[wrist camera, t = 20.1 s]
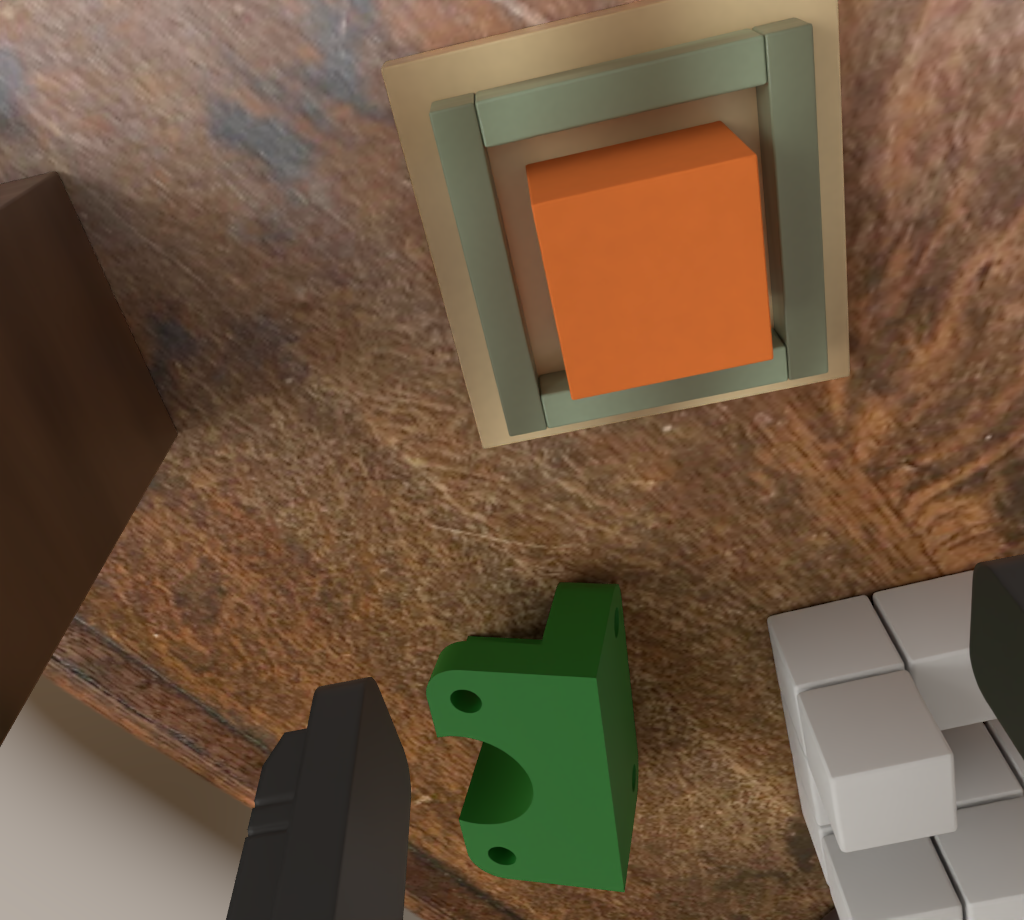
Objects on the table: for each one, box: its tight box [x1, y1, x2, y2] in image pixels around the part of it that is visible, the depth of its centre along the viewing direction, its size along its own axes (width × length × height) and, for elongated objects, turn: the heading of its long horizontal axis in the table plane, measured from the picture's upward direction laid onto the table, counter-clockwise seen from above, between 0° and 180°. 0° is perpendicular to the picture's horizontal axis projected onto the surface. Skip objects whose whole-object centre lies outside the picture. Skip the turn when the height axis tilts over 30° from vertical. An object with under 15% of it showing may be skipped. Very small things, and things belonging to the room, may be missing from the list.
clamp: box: [426, 582, 638, 892], centre depth 36 cm, size 12×6×9 cm, turn 2°
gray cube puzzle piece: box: [767, 571, 1024, 920], centre depth 35 cm, size 12×12×8 cm
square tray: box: [381, 0, 850, 449], centre depth 27 cm, size 12×12×3 cm
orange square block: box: [526, 121, 773, 400], centre depth 26 cm, size 6×6×4 cm
